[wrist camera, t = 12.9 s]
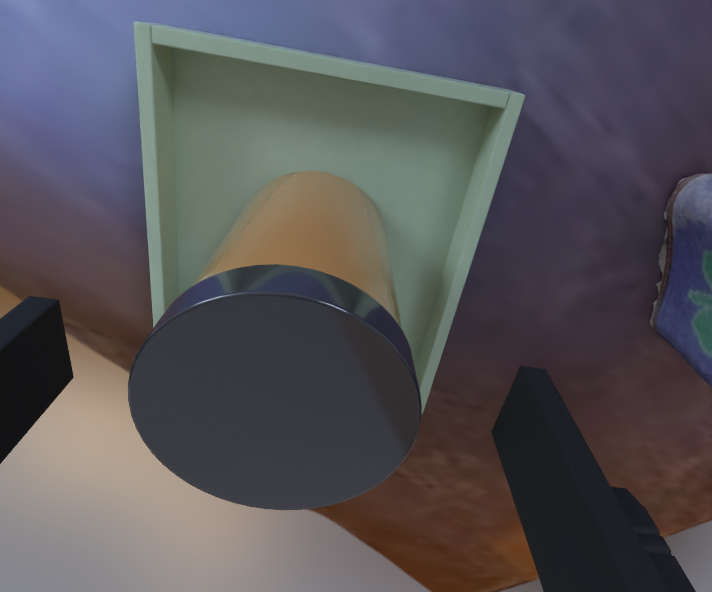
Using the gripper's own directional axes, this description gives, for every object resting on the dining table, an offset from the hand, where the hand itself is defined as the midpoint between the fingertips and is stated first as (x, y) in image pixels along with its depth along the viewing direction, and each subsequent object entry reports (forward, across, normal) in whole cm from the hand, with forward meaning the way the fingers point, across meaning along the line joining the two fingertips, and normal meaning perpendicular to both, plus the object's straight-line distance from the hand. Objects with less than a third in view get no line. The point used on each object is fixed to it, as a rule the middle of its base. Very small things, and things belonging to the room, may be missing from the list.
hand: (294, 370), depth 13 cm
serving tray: (+10, 0, 0) cm, 10 cm away
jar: (+10, 0, 0) cm, 10 cm away
